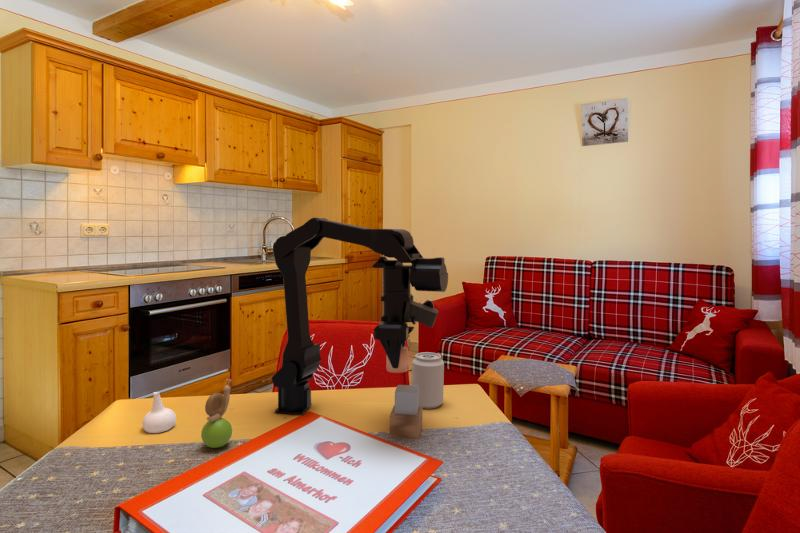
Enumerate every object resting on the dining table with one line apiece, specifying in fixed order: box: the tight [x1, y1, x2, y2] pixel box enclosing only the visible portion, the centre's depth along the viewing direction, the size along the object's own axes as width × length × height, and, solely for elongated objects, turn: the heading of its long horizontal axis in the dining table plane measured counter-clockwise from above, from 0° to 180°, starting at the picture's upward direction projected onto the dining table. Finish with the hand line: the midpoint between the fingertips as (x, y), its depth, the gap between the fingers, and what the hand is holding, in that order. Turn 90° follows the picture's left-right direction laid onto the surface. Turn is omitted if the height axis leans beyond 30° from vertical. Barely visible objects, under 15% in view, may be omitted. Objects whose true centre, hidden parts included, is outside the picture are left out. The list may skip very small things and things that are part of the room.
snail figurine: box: [200, 378, 233, 449], centre depth 88 cm, size 5×6×12 cm
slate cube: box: [394, 384, 419, 415], centre depth 96 cm, size 4×4×4 cm
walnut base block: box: [389, 404, 423, 440], centre depth 96 cm, size 6×6×4 cm
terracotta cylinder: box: [385, 345, 409, 374], centre depth 97 cm, size 4×4×4 cm
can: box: [411, 351, 445, 410], centre depth 111 cm, size 8×8×12 cm
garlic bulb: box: [142, 391, 177, 434], centre depth 96 cm, size 6×6×8 cm
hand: (397, 364), depth 97 cm, fingers closed on terracotta cylinder, 4 cm apart
